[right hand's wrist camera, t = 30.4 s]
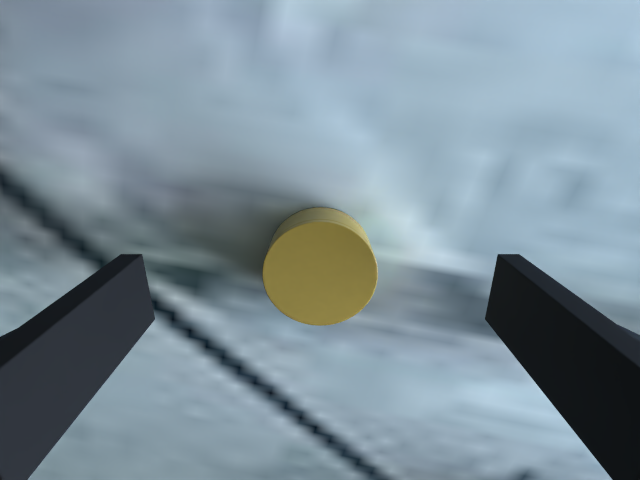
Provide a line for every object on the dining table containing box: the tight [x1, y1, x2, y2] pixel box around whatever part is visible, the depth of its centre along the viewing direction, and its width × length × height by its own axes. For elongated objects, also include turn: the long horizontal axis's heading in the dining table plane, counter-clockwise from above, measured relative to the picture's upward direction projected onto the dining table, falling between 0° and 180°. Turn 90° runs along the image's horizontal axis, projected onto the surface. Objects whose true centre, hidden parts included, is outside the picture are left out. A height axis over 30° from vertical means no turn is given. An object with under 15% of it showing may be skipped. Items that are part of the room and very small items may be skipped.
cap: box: [262, 207, 378, 325], centre depth 14 cm, size 4×4×2 cm
